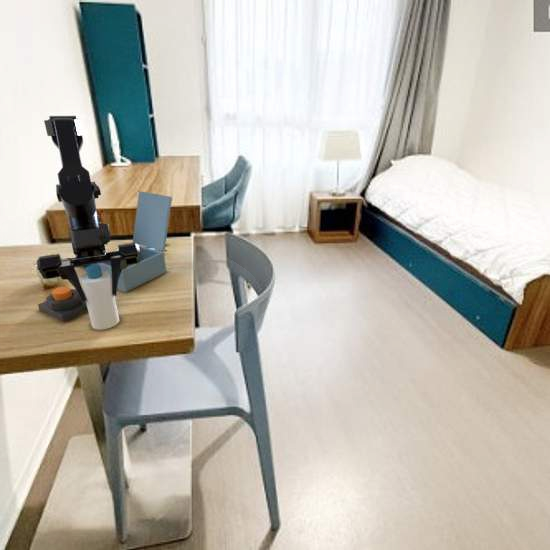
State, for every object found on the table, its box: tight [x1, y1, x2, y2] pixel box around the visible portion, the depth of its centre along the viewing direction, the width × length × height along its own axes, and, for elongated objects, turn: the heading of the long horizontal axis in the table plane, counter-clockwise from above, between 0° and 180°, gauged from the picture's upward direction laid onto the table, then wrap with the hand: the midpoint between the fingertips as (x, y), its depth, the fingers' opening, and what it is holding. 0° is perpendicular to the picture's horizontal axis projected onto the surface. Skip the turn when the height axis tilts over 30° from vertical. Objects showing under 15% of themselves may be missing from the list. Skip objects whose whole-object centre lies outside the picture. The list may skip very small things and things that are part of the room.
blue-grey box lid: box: [132, 190, 173, 252], centre depth 99 cm, size 14×12×1 cm
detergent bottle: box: [79, 264, 120, 331], centre depth 75 cm, size 5×5×13 cm
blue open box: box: [92, 245, 167, 293], centre depth 96 cm, size 14×12×6 cm
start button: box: [51, 286, 72, 301], centre depth 80 cm, size 4×4×2 cm
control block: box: [37, 288, 88, 323], centre depth 81 cm, size 9×7×4 cm
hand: (100, 298), depth 74 cm, fingers closed on detergent bottle, 5 cm apart
